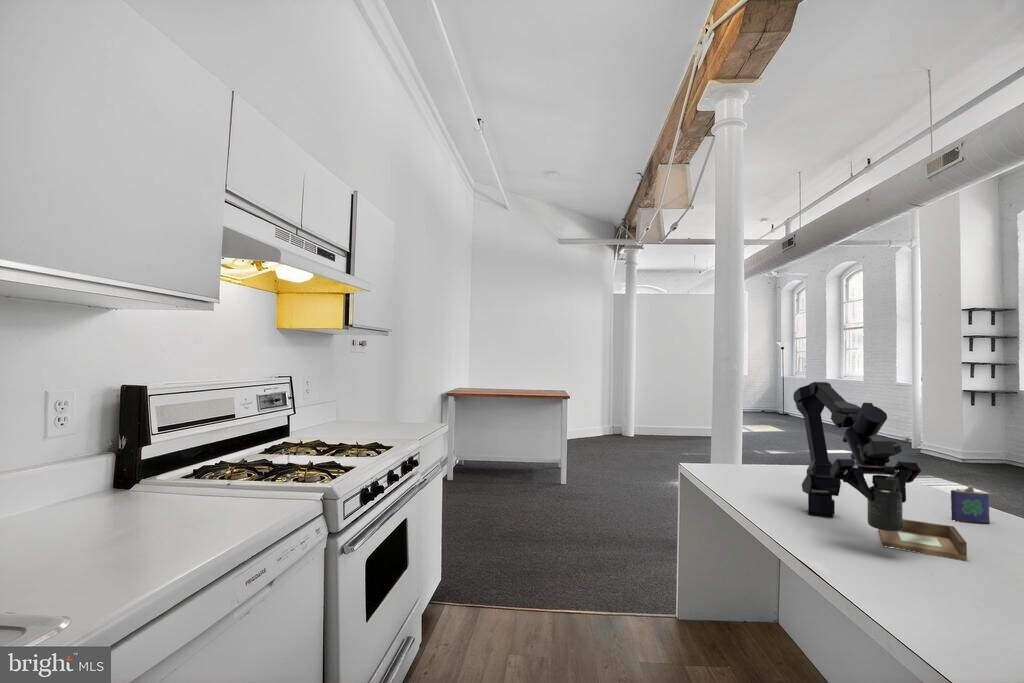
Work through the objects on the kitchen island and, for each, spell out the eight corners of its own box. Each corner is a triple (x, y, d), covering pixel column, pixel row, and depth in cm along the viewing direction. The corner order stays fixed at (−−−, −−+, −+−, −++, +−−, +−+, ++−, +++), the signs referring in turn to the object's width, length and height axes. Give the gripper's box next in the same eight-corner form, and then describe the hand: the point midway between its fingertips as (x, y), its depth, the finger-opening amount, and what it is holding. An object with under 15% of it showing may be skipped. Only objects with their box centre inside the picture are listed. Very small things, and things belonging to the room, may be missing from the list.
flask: (986, 522, 153) (985, 485, 153) (992, 525, 150) (992, 488, 150) (949, 519, 155) (948, 483, 156) (954, 522, 152) (954, 485, 153)
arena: (883, 546, 129) (882, 529, 129) (878, 531, 142) (878, 515, 142) (966, 560, 121) (966, 542, 121) (954, 542, 134) (953, 526, 134)
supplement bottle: (891, 523, 127) (890, 474, 128) (909, 532, 120) (909, 480, 121) (861, 522, 128) (861, 473, 128) (878, 531, 121) (878, 479, 122)
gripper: (835, 426, 130) (858, 480, 119) (916, 429, 128) (947, 484, 116) (820, 452, 138) (841, 505, 126) (897, 455, 135) (925, 509, 124)
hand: (888, 500), depth 123 cm, fingers closed on supplement bottle, 7 cm apart
